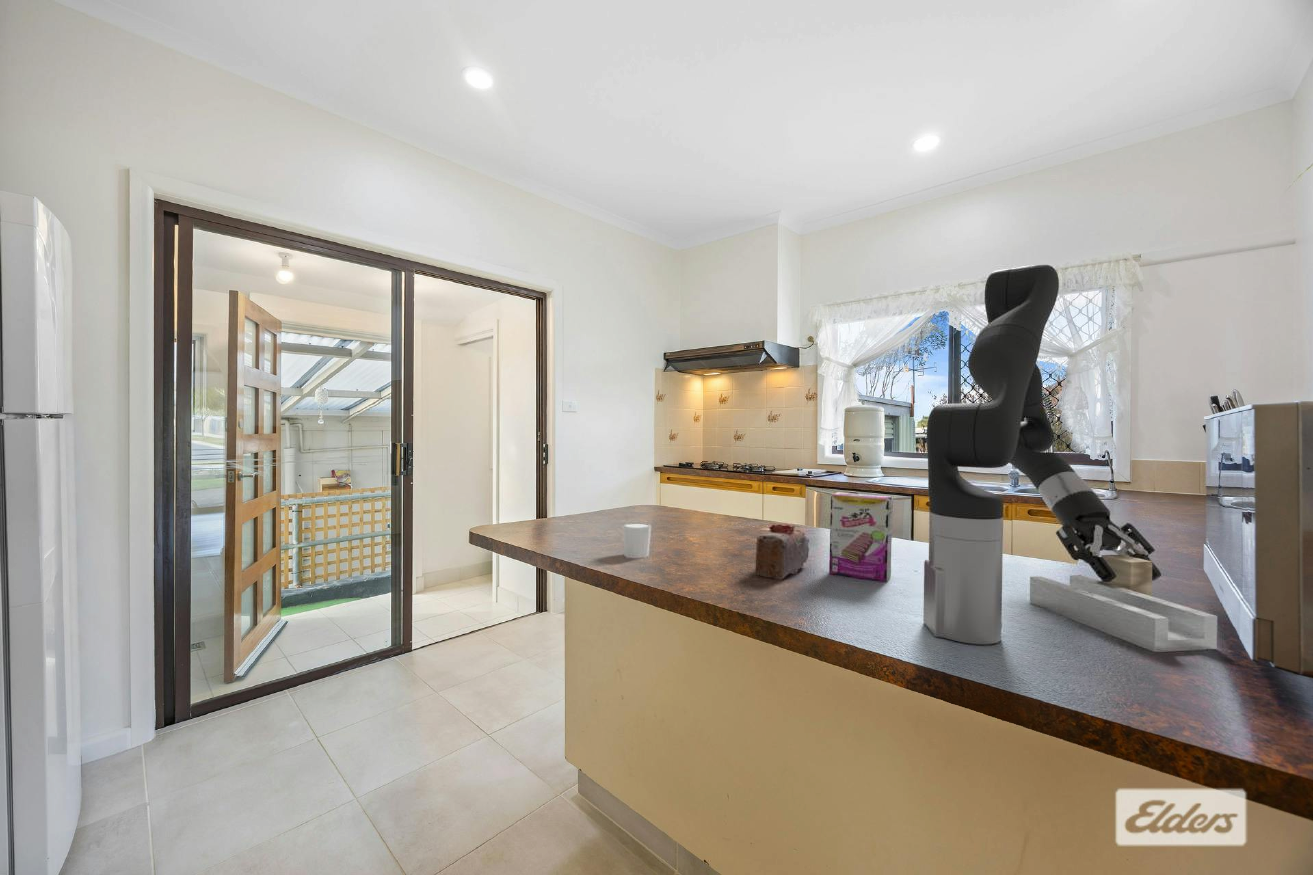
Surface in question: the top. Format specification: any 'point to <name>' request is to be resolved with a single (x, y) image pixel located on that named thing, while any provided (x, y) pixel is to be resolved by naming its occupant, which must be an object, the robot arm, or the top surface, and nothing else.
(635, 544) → the white cylinder
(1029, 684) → the top surface
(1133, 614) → the rail
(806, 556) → the food item
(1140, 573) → the oak block
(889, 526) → the candy bar box
